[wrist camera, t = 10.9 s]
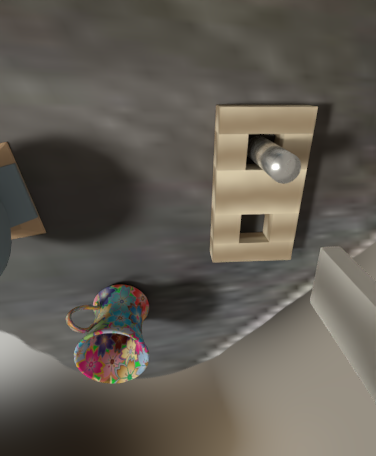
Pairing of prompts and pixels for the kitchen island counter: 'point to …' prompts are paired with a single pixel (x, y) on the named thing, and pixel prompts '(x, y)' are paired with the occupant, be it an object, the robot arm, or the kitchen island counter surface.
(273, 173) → the peg
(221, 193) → the hole block
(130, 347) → the mug
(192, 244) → the kitchen island counter surface
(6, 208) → the alarm clock
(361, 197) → the kitchen island counter surface
